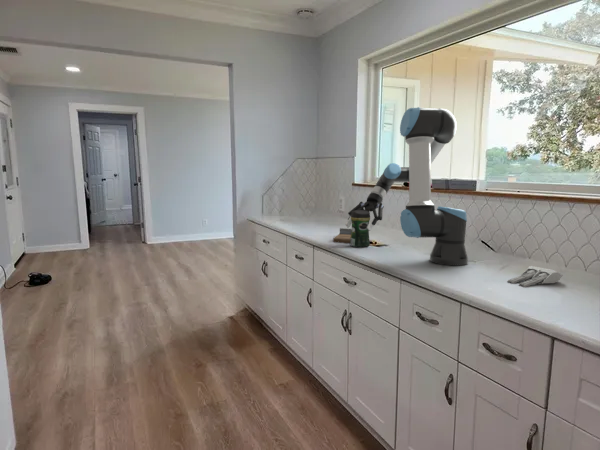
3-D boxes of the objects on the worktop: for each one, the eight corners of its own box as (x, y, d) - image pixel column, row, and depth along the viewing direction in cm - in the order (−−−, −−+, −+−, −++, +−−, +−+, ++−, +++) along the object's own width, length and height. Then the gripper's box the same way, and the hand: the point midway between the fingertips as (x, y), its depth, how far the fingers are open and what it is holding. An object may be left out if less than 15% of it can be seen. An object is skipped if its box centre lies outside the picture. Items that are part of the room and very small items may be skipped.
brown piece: (359, 243, 200) (359, 234, 200) (333, 242, 204) (333, 232, 204) (364, 238, 219) (364, 229, 218) (340, 236, 223) (340, 228, 222)
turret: (502, 287, 134) (502, 274, 133) (540, 273, 141) (540, 261, 140) (529, 295, 125) (528, 282, 124) (567, 280, 132) (567, 268, 131)
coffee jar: (364, 244, 199) (365, 209, 196) (371, 247, 191) (373, 210, 189) (347, 245, 196) (348, 209, 193) (354, 248, 188) (355, 211, 186)
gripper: (399, 203, 192) (381, 235, 184) (360, 200, 210) (341, 229, 202) (394, 193, 188) (375, 225, 180) (354, 191, 206) (335, 220, 198)
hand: (357, 227), depth 191 cm, fingers open, 13 cm apart
